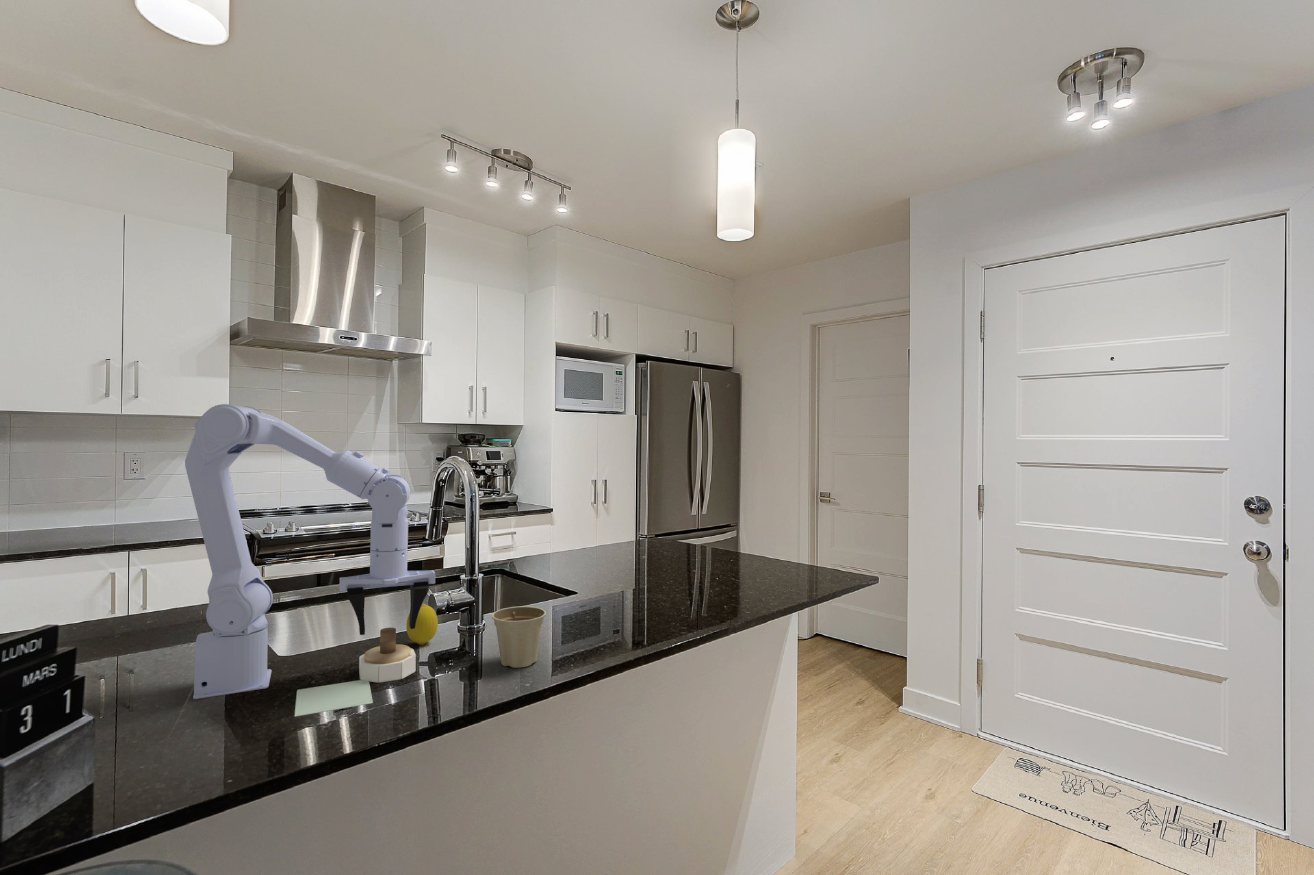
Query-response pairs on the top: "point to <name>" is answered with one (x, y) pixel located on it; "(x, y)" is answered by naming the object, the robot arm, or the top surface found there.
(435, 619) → the lemon
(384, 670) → the bowl
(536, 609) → the flower pot
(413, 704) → the top surface
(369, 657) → the lid
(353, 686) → the mat
